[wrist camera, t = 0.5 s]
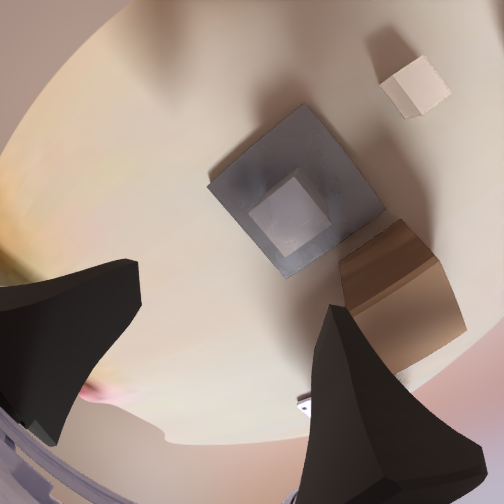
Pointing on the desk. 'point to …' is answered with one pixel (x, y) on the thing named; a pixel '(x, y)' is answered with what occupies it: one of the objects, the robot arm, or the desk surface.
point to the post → (296, 192)
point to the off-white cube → (416, 88)
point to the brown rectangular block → (400, 297)
